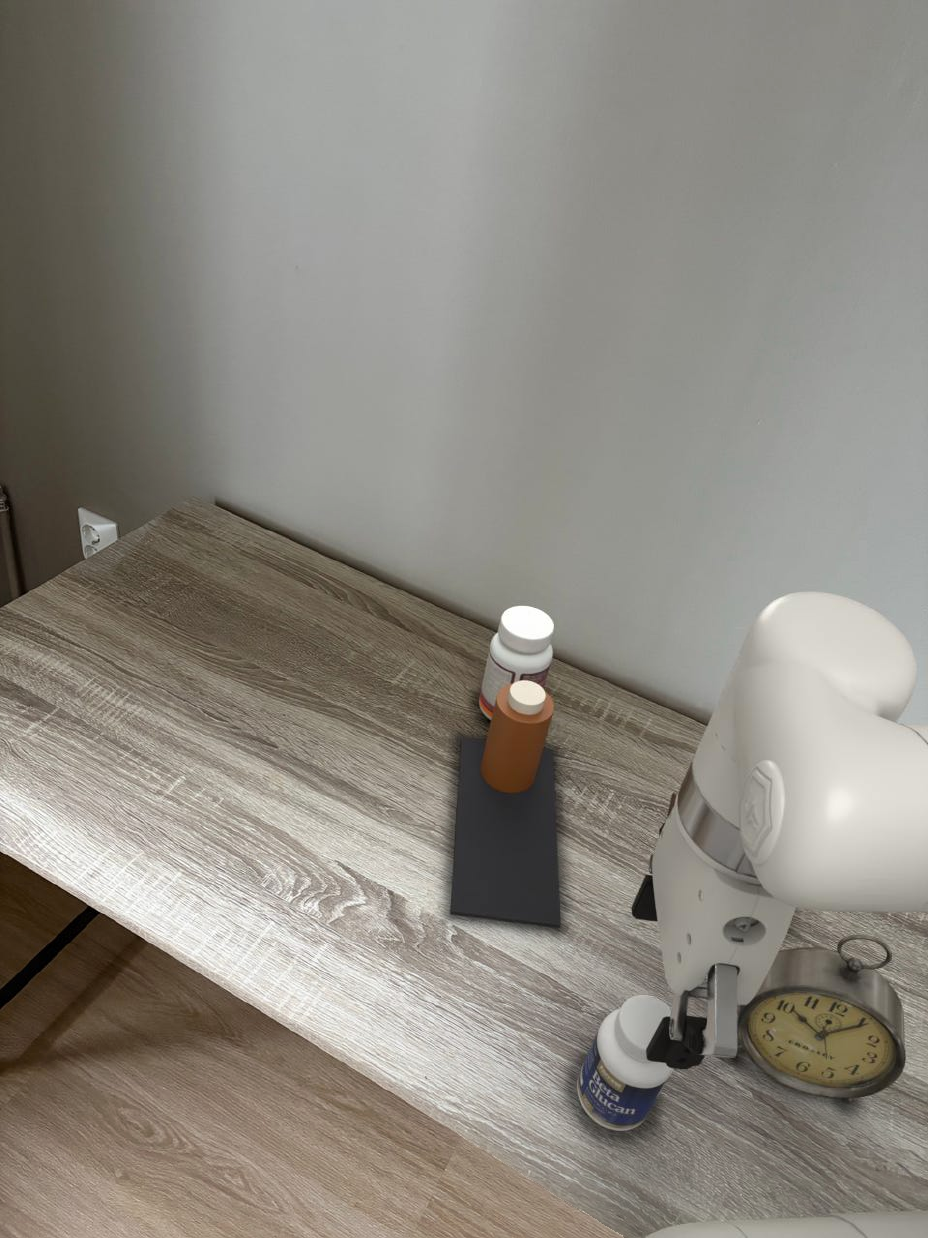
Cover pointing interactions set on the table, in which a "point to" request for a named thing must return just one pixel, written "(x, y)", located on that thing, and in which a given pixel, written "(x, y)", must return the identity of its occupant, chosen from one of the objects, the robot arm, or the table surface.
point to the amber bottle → (516, 736)
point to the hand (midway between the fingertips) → (661, 983)
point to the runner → (505, 845)
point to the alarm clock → (825, 1023)
